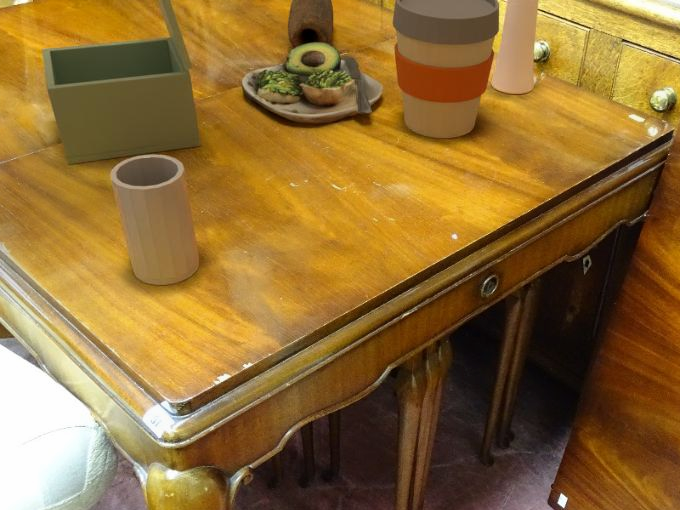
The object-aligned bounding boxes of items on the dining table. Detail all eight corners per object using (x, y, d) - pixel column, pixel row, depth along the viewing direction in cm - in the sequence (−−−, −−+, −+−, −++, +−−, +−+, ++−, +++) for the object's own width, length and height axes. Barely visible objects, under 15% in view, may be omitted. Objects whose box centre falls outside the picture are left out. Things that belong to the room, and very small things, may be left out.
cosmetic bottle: (490, 92, 106) (510, -83, 92) (490, 75, 111) (508, -94, 97) (534, 96, 106) (560, -79, 92) (532, 78, 111) (557, -91, 97)
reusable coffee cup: (370, 119, 98) (370, -3, 89) (438, 93, 105) (445, -22, 96) (441, 155, 92) (449, 28, 82) (508, 125, 99) (523, 4, 89)
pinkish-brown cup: (124, 283, 70) (99, 186, 64) (144, 245, 75) (124, 152, 68) (190, 287, 70) (172, 191, 64) (206, 249, 75) (191, 156, 68)
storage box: (67, 164, 86) (46, 88, 80) (61, 120, 94) (41, 48, 88) (200, 146, 91) (190, 73, 85) (183, 105, 99) (172, 36, 93)
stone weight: (288, 24, 123) (285, -20, 119) (332, 24, 124) (331, -19, 120) (289, 61, 112) (286, 13, 107) (338, 60, 113) (337, 13, 108)
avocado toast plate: (420, 111, 101) (421, 77, 98) (300, 144, 92) (298, 108, 89) (340, 62, 112) (339, 30, 109) (227, 87, 103) (223, 53, 101)
